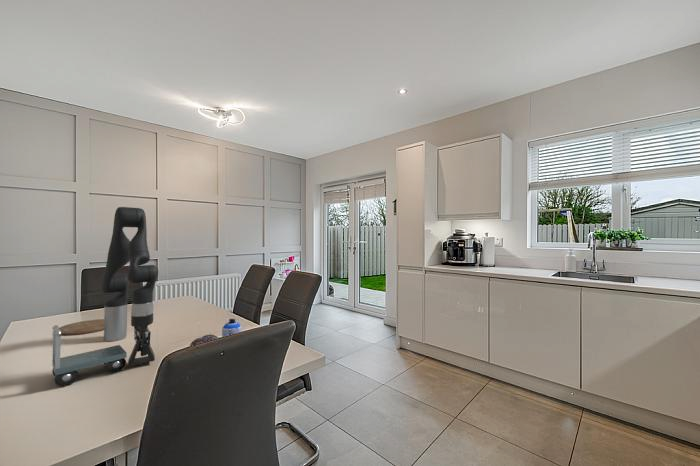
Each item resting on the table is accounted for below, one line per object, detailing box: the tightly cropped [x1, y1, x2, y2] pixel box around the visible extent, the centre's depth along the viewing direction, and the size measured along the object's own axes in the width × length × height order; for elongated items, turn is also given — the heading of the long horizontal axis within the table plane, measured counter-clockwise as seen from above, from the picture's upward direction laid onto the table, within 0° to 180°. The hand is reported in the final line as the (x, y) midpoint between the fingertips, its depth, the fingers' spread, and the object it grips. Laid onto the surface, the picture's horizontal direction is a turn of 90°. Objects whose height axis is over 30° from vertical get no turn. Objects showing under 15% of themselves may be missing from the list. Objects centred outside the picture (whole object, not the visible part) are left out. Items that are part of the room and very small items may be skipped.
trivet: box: [59, 318, 104, 337], centre depth 166 cm, size 25×25×2 cm
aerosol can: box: [221, 318, 243, 338], centre depth 119 cm, size 8×8×20 cm
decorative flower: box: [189, 334, 219, 346], centre depth 123 cm, size 14×12×15 cm
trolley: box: [51, 324, 127, 388], centre depth 112 cm, size 12×20×20 cm, turn 139°
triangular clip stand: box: [127, 334, 156, 366], centre depth 121 cm, size 9×6×12 cm, turn 124°
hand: (141, 353), depth 121 cm, fingers closed on triangular clip stand, 6 cm apart
